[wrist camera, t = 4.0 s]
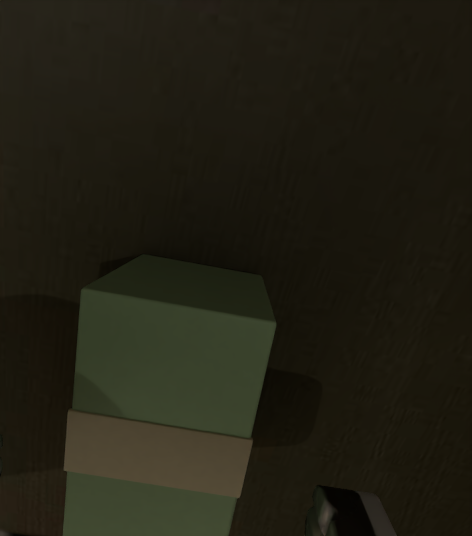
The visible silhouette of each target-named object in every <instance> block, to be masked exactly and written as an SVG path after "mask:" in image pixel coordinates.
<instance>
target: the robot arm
mask: <svg viewBox="0 0 472 536" xmlns="http://www.w3.org/2000/svg"><path fill="white" fill-rule="evenodd" d="M2 446H3V438H2V435H1V434H0V448H1V447H2ZM2 464H3V461H2V459H1V458H0V475H1V472H2ZM312 498H313V502H314V506H313V507H312V508H310V509H309V510H308V513H307V517H306V521H305V536H396V533H395V531H394V529H393V527H392V525H391V523H390V521H389V519H388V517H387V514H386V512H385V510H384V508H383V506H382V504H381V502H380V500H379V498H378V497H377V496H376V495H375V494H373V493H367V492H360V491H353V490H348V489H341V488H334V487H328V486H321V485H317V486H316V487H315V489H314V492H313V495H312Z"/></svg>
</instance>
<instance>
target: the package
mask: <svg viewBox="0 0 472 536" xmlns="http://www.w3.org/2000/svg"><path fill="white" fill-rule="evenodd" d="M275 329H276V321H275V318H274V314H273V311H272V308H271V305H270V301H269V298H268V295H267V291H266V288H265V285H264V282H263V278H262V276H261V275H257V274H251V273H245V272H240V271H234V270H229V269H223V268H218V267H212V266H207V265H201V264H195V263H190V262H184V261H179V260H173V259H168V258H162V257H157V256H151V255H145V254H142V255H140V256H139V257H137V258H135V259H133V260H131V261H130V262H128V263H126V264H124V265H123V266H121V267H119V268H117V269H116V270H114V271H112V272H110V273H108V274H107V275H105V276H103V277H101V278H100V279H98V280H96V281H94V282H93V283H91V284H89V285H87V286H85V287H84V288H82V290H81V297H80V310H79V324H78V337H77V351H76V365H75V378H74V392H73V405H72V409H71V408H70V409H69V410H68V419H67V433H66V447H65V461H64V471H68V473H67V486H66V500H65V514H64V527H63V536H228V535H229V531H230V527H231V522H232V518H233V513H234V509H235V505H236V500H237V498H240V495H241V490H242V486H243V481H244V477H245V473H246V468H247V464H248V460H249V455H250V451H251V447H252V442H253V438H251V434H252V430H253V425H254V421H255V417H256V412H257V408H258V403H259V399H260V395H261V390H262V386H263V381H264V377H265V373H266V368H267V364H268V359H269V355H270V351H271V346H272V342H273V337H274V333H275Z"/></svg>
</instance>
